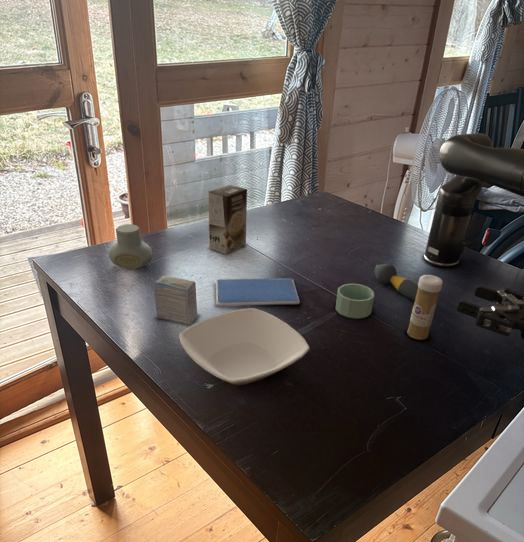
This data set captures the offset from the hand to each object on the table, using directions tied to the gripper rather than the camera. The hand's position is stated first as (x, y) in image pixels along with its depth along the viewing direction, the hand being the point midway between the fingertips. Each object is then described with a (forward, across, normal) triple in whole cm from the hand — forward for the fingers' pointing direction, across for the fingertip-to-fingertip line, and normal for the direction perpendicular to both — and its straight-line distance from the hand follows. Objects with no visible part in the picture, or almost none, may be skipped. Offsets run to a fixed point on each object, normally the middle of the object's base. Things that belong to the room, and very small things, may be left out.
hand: (467, 297), depth 100 cm
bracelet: (+24, 0, +12) cm, 27 cm away
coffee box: (+69, -6, +12) cm, 70 cm away
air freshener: (+79, +20, +12) cm, 82 cm away
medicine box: (+51, +30, +12) cm, 60 cm away
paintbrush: (+20, -16, +12) cm, 29 cm away
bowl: (+29, +33, +13) cm, 45 cm away
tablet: (+45, +10, +12) cm, 48 cm away
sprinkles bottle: (+8, 0, +12) cm, 15 cm away
